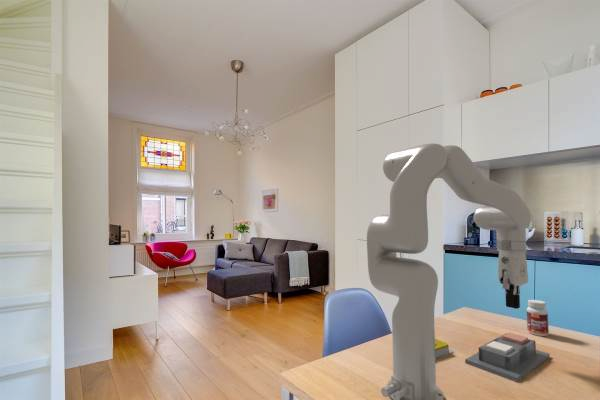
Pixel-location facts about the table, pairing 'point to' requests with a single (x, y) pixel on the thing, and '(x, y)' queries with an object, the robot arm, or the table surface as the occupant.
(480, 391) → the table surface
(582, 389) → the table surface
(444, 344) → the emergency button
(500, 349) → the cream key
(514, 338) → the terracotta key
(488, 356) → the key panel
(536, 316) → the pill bottle
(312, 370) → the table surface
